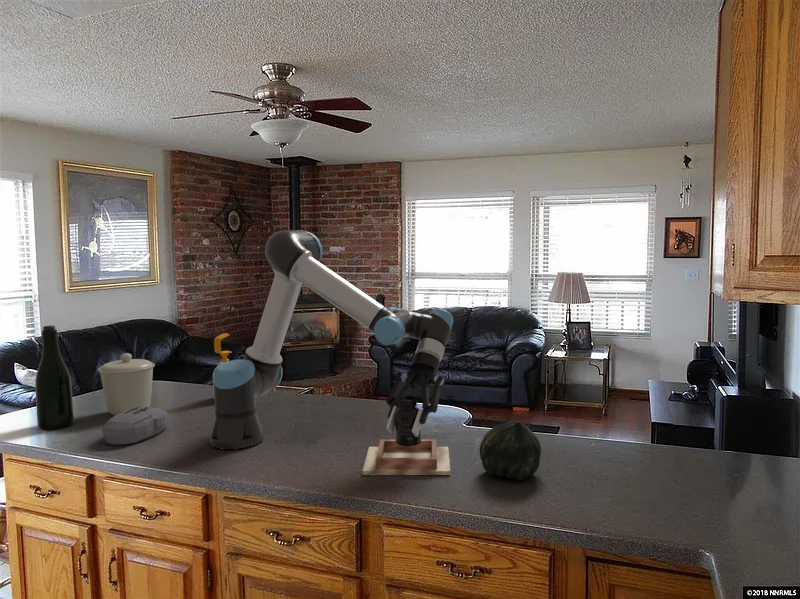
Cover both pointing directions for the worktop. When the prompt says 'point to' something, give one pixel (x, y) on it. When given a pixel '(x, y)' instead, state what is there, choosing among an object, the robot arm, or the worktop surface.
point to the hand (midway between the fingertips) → (401, 432)
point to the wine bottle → (53, 386)
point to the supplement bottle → (406, 422)
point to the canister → (127, 383)
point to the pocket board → (407, 459)
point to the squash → (510, 451)
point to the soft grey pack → (135, 425)
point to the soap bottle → (218, 349)
